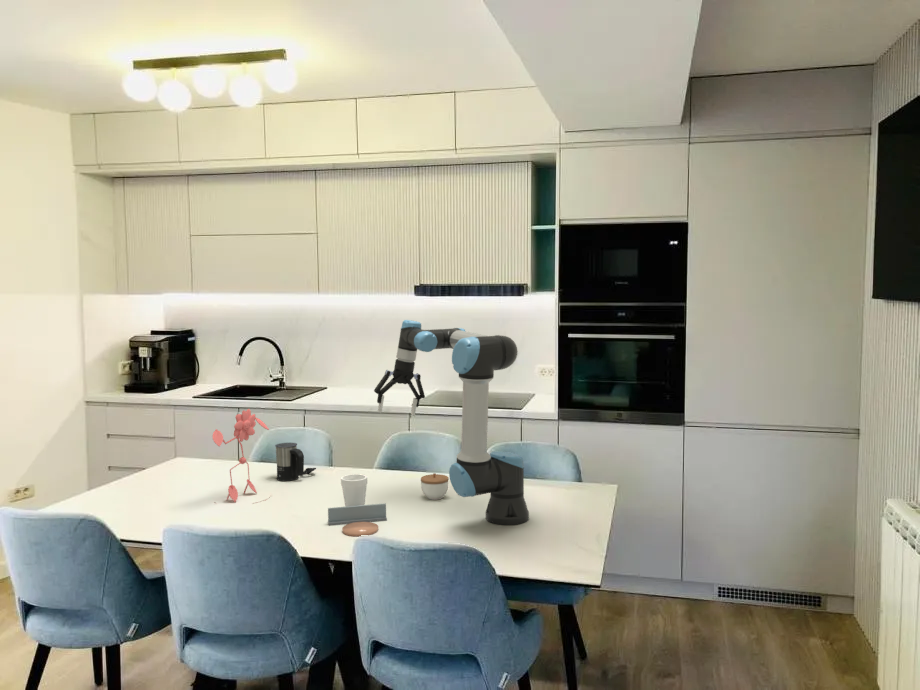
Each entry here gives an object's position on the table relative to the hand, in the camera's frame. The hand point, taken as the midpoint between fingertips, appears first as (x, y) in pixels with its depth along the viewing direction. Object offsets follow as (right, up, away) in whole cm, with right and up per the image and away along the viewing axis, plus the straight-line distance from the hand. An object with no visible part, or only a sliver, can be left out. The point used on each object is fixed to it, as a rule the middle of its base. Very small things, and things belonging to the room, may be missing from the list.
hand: (396, 413), depth 294 cm
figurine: (-57, -33, -2) cm, 66 cm away
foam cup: (-13, -34, -21) cm, 42 cm away
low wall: (-11, -35, -31) cm, 48 cm away
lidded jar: (+15, -32, -4) cm, 36 cm away
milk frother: (-45, -30, +29) cm, 62 cm away
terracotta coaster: (-9, -36, -41) cm, 55 cm away
